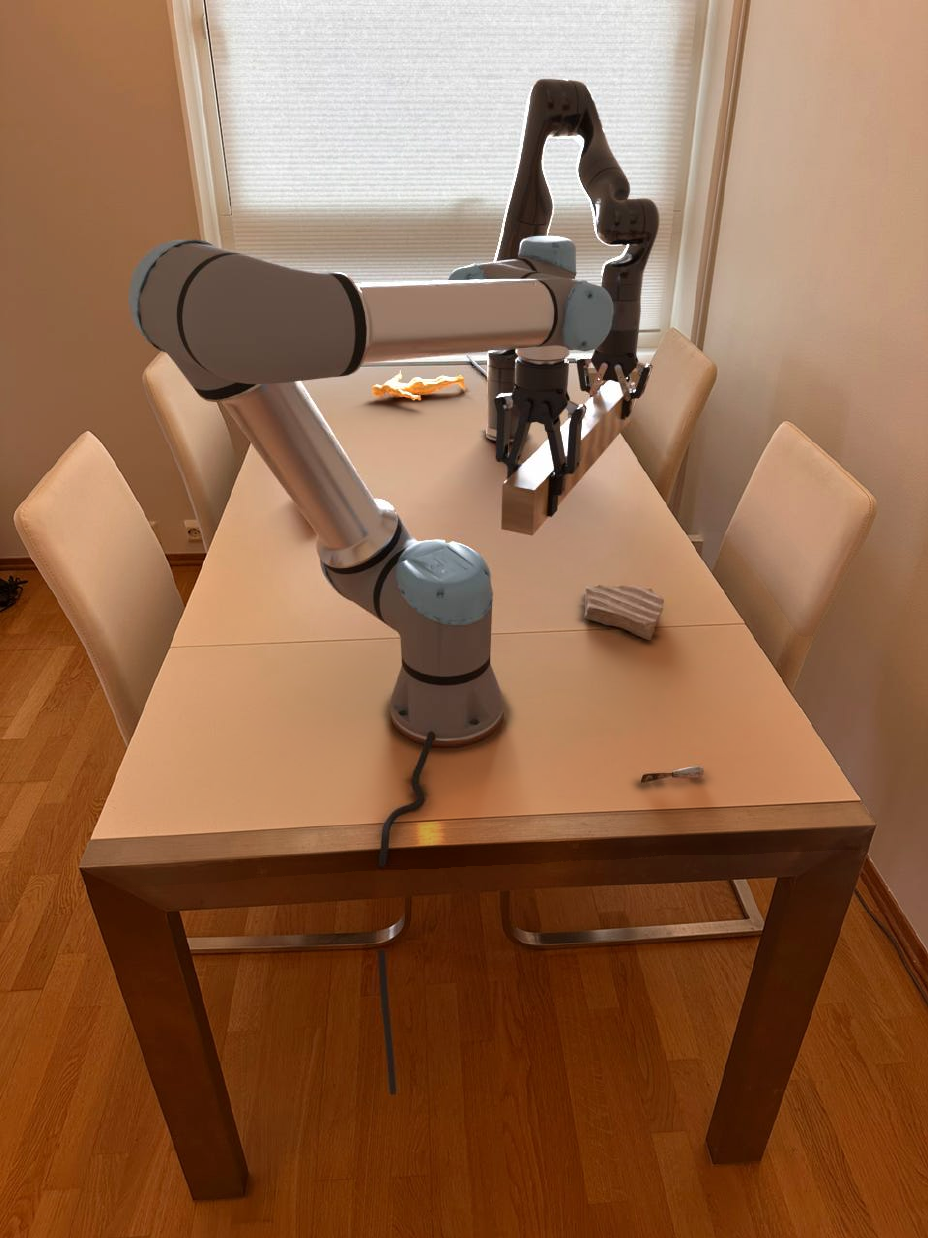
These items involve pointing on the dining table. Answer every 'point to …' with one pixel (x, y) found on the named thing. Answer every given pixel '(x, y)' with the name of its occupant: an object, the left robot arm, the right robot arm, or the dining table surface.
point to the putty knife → (674, 774)
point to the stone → (624, 608)
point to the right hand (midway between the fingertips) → (609, 415)
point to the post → (531, 480)
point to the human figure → (415, 386)
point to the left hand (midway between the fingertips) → (534, 509)
